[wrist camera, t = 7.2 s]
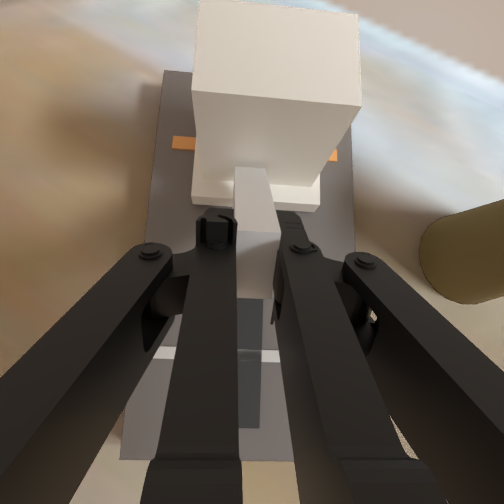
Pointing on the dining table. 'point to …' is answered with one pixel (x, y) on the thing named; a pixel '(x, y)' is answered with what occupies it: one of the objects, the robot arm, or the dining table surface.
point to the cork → (466, 254)
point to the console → (248, 309)
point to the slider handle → (271, 97)
